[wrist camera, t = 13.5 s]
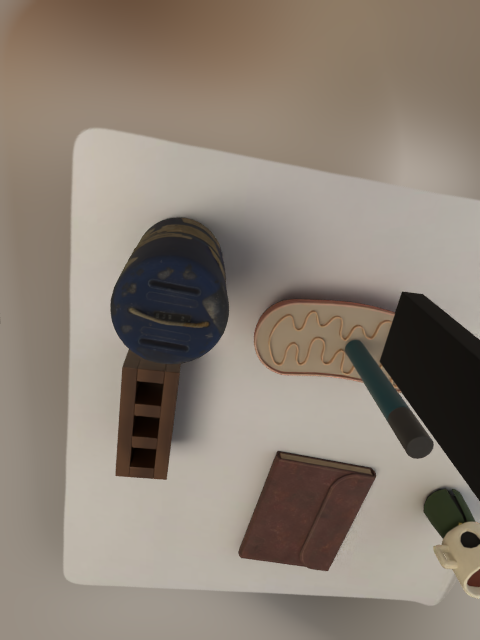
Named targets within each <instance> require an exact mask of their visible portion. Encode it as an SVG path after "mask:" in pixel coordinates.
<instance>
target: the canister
mask: <svg viewBox="0 0 480 640" xmlns="http://www.w3.org/2000/svg"><path fill="white" fill-rule="evenodd" d="M228 316H229V301H228V296H227V289H226V276H225V268H224V262H223V257H222V252H221V248H220V245H219V243H218V241H217V239H216V238H215V236H214V235H213V234H212V233H211V231H210V230H209V229H207V228H206V227H205V226H204V225H202V224H201V223H199V222H197V221H194V220H191V219H187V218H170V219H166V220H163V221H160V222H158V223H157V224H155V225H153V226H152V227H151V228H150V229H149V230H148V231H147V232H146V233H145V234H144V235H143V237H142V238H141V240H140V242H139V243H138V245H137V247H136V248H135V249H134V251H133V253H132V255H131V256H130V258H129V260H128V262H127V264H126V265H125V267H124V269H123V271H122V273H121V275H120V277H119V279H118V281H117V283H116V285H115V287H114V290H113V294H112V298H111V318H112V322H113V325H114V328H115V330H116V332H117V334H118V336H119V338H120V339H121V340H122V341H123V343H124V344H125V345H126V346H127V347H128V348H129V349H130V350H131V351H132V352H134V353H135V354H137V355H138V356H140V357H141V358H143V359H145V360H148V361H152V362H156V363H161V364H181V363H185V362H188V361H192V360H195V359H197V358H199V357H201V356H203V355H204V354H206V353H207V352H209V351H210V350H211V349H212V348H213V347H214V346H215V345H216V344H217V342H218V341H219V340H220V338H221V336H222V335H223V333H224V331H225V328H226V325H227V321H228Z"/></svg>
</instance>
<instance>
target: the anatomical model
mask: <svg viewBox="0 0 480 640" xmlns="http://www.w3.org/2000/svg"><path fill="white" fill-rule="evenodd" d="M394 315H395V312H392V311H388V310H385V309H381V308H378V307H374V306H369V305H365V304H359V303H352V302H344V301H333V300H307V299H290V300H284V301H281V302H278V303H276V304H274V305H272V306H271V307H270V308H268V309H267V310H266V311H265V312H264V313H263V315H262V316H261V317H260V319H259V321H258V323H257V325H256V328H255V332H254V345H255V350H256V353H257V356H258V358H259V360H260V361H261V362H262V363H263V364H264V365H265V366H266V367H267V368H268V369H270V370H271V371H273V372H275V373H278V374H281V375H297V376H324V377H334V378H342V379H348V380H353V381H358V382H362V383H364V382H363V381H362V379H361V377H360V376H359V374H358V372H357V371H356V369H355V367H354V366H353V364H352V363H351V361H350V359H349V358H348V356H347V354H346V353H345V347H346V345H347V344H348V343H349V342H350V341H352V340H359V341H361V342H362V343H363V344H364V346H365V347H366V349H367V350H368V351H369V353H370V354H371V356H372V357H373V358H374V360H375V361H376V362H377V364H378V365H379V367H380V368H381V369H382V371H383V372H384V374H385V375H386V376H387V378H388V379H389V381H390V382H391V383H392V385H393V386H394V388H395V389H396V390H397V392H398V393H402V392H401V391H400V390H399V388H398V387H397V385H396V384H395V383H394V381H393V380H392V378H391V377H390V376H389V374H388V373H387V371H386V370H385V369H384V367H383V366H382V365H381V363H380V362H379V361H380V358H381V355H382V352H383V349H384V346H385V343H386V340H387V337H388V333H389V330H390V327H391V324H392V321H393V318H394Z"/></svg>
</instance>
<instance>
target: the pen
mask: <svg viewBox="0 0 480 640" xmlns="http://www.w3.org/2000/svg"><path fill="white" fill-rule="evenodd" d="M345 353H346V354H347V356H348V358H349V359H350V361H351V363H352V364H353V366H354V367H355V369H356V371H357V372H358V374H359V376H360V377H361V379H362V381H363V382H364V384H365V386H366V387H367V389H368V390H369V392H370V394H371V395H372V397H373V399H374V400H375V402H376V404H377V405H378V407H379V408H380V410H381V412H382V413H383V415H384V417H385V418H386V420H387V422H388V423H389V425H390V426H391V428H392V430H393V431H394V433H395V435H396V436H397V438H398V440H399V441H400V443H401V444H402V446H403V448H404V449H405V451H406V453H407V454H408V455H409V456H410V457H412V458H417V459H418V458H423V457H425V456H427V455H428V454H429V453H430V452H431V451H432V449H433V446H434V444H433V441H432V439H431V438H430V436H429V435H428V434H427V432H426V431H425V429H424V428H423V427H422V425H421V424H420V422H419V421H418V420H417V418H416V417H415V415H414V414H413V413H412V411H411V410H410V408H409V407H408V406H407V404H406V403H405V402H404V400H403V399H402V397H401V396H400V395H399V393H398V392H397V390H396V389H395V388H394V386H393V385H392V383H391V382H390V381H389V379H388V378H387V376H386V375H385V374H384V372H383V371H382V369H381V368H380V367H379V365H378V364H377V362H376V361H375V360H374V358H373V357H372V356H371V354H370V353H369V351H368V350H367V349H366V347H365V346H364V344H363V343H362V342H361V341H359V340H352V341H350V342H349V343H348V344H347V345H346V347H345Z"/></svg>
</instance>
